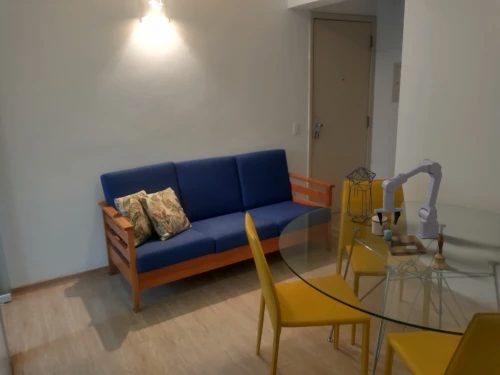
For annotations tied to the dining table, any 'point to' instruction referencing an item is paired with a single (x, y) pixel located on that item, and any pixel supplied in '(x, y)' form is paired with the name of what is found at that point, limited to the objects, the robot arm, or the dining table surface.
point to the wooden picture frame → (406, 241)
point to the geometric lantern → (361, 188)
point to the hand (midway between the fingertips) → (388, 224)
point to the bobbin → (388, 235)
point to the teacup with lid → (376, 226)
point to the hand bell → (439, 257)
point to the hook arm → (395, 241)
